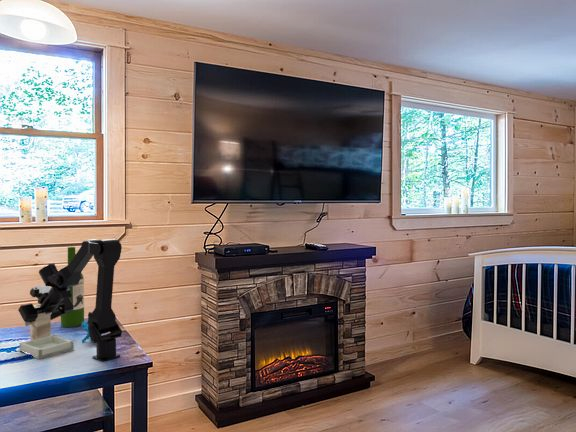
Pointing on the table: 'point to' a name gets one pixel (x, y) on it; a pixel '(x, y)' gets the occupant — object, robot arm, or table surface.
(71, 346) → the sage tray
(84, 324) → the gear
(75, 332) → the table surface
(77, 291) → the wine bottle
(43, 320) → the maple block
